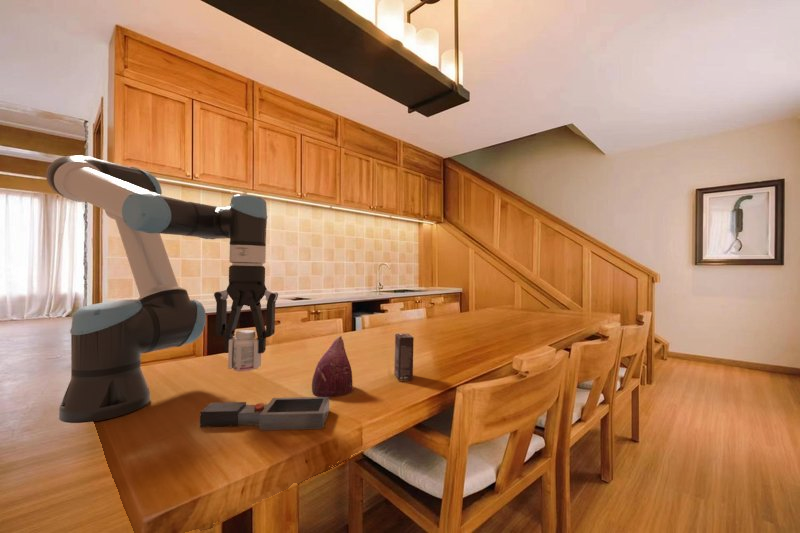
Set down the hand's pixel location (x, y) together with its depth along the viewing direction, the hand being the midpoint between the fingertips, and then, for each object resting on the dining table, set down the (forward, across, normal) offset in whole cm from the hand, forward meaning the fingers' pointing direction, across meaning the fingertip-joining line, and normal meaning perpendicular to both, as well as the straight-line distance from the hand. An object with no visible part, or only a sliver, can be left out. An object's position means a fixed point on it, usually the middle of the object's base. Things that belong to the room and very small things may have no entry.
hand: (244, 366), depth 77 cm
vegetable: (+9, +19, +9) cm, 22 cm away
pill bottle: (+1, 0, 0) cm, 1 cm away
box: (+8, +38, +18) cm, 42 cm away
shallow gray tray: (+8, +8, -8) cm, 14 cm away
